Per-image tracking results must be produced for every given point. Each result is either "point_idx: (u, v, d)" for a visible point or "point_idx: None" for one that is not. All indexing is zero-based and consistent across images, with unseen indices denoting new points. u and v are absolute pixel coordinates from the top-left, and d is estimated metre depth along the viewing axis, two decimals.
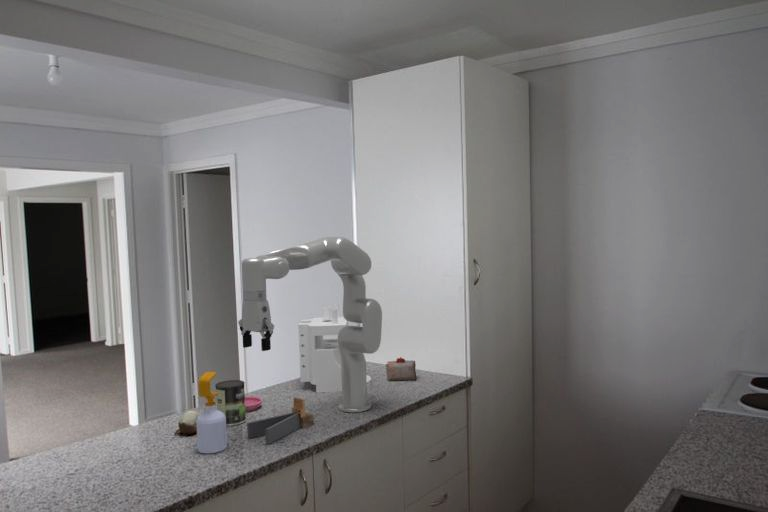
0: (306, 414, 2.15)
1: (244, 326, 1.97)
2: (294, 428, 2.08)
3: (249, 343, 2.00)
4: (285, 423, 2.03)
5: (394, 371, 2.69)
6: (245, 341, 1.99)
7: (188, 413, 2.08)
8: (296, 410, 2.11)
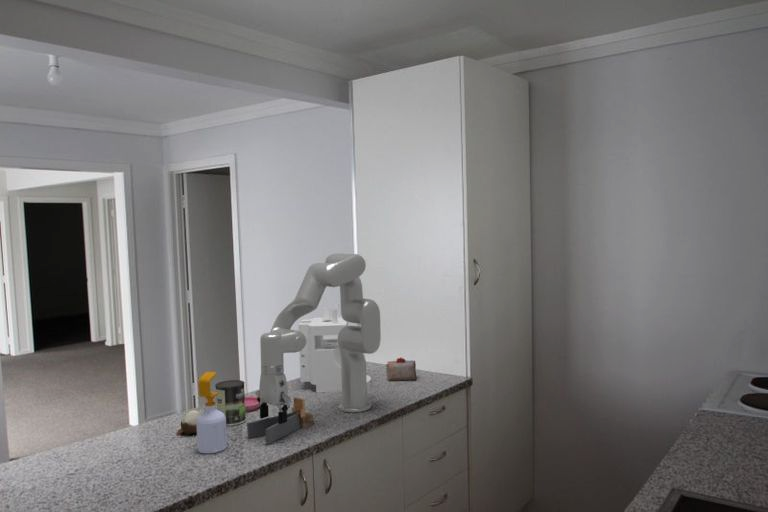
0: (306, 414, 2.15)
1: (261, 398, 2.04)
2: (294, 428, 2.08)
3: (266, 414, 2.07)
4: (285, 423, 2.03)
5: (394, 371, 2.69)
6: (262, 412, 2.05)
7: (190, 413, 2.08)
8: (296, 410, 2.11)
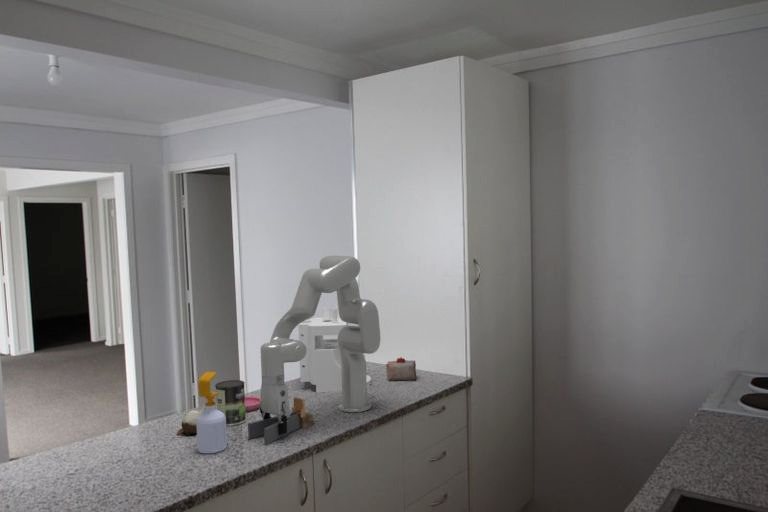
0: (306, 414, 2.15)
1: (263, 408, 2.04)
2: (294, 428, 2.08)
3: None
4: None
5: (394, 371, 2.69)
6: None
7: (191, 413, 2.08)
8: (296, 410, 2.11)
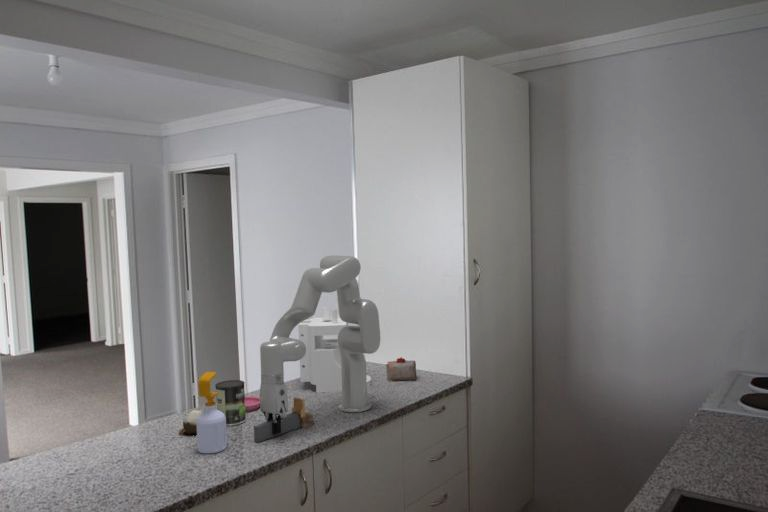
0: (306, 414, 2.15)
1: (262, 407, 2.04)
2: (292, 428, 2.08)
3: None
4: None
5: (394, 371, 2.69)
6: None
7: (193, 413, 2.08)
8: (296, 410, 2.11)
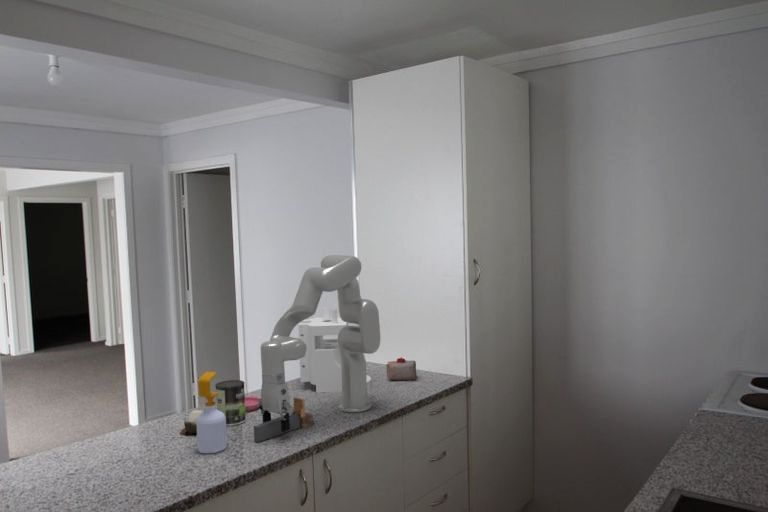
0: (306, 414, 2.15)
1: (264, 406, 2.04)
2: (292, 428, 2.08)
3: None
4: (280, 422, 2.04)
5: (394, 371, 2.69)
6: (265, 420, 2.06)
7: (194, 412, 2.08)
8: (296, 410, 2.11)
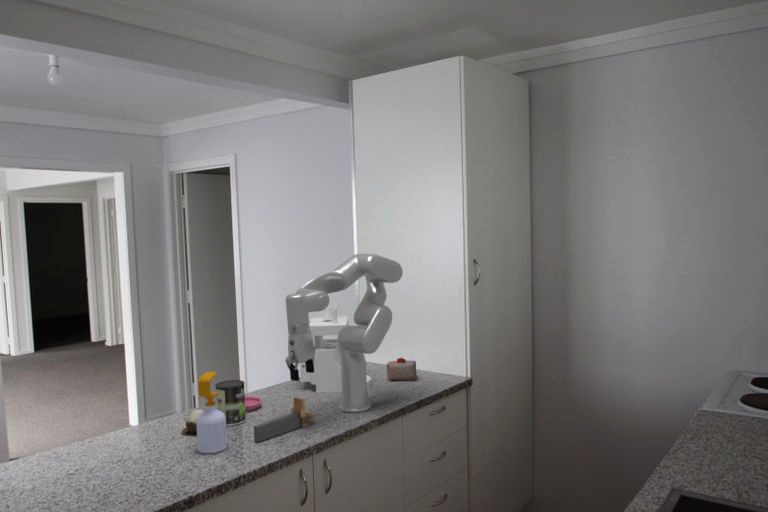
0: (306, 414, 2.15)
1: None
2: (292, 428, 2.08)
3: (310, 369, 2.17)
4: (280, 422, 2.04)
5: (394, 371, 2.69)
6: (306, 367, 2.17)
7: (195, 412, 2.09)
8: (296, 410, 2.11)
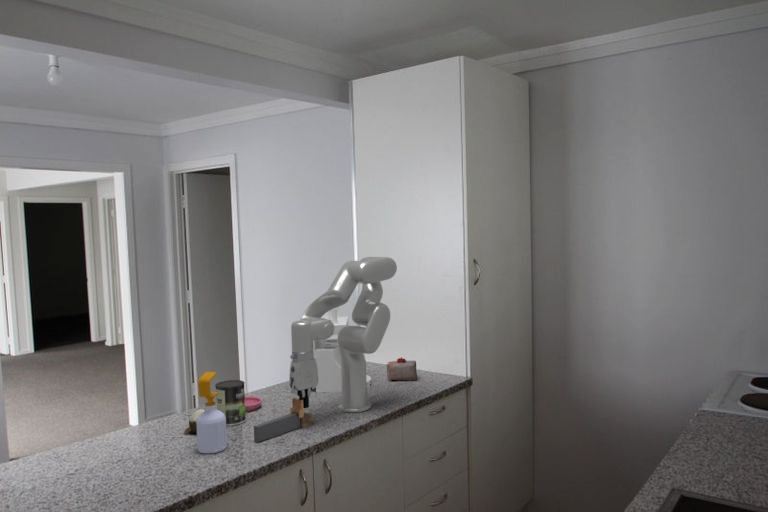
0: (306, 414, 2.15)
1: None
2: (292, 428, 2.08)
3: None
4: (280, 422, 2.04)
5: (395, 371, 2.68)
6: None
7: (198, 412, 2.09)
8: (295, 410, 2.10)
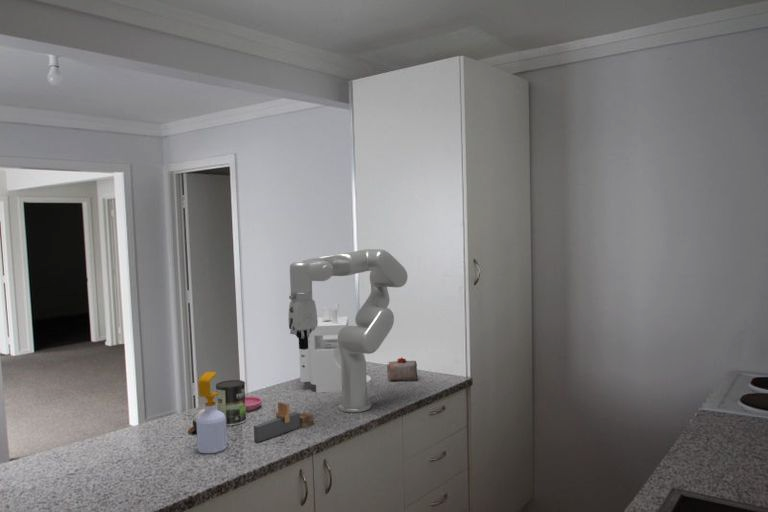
0: (306, 414, 2.15)
1: None
2: (292, 428, 2.08)
3: None
4: (280, 422, 2.04)
5: (395, 371, 2.68)
6: None
7: (202, 411, 2.09)
8: (280, 415, 2.06)
